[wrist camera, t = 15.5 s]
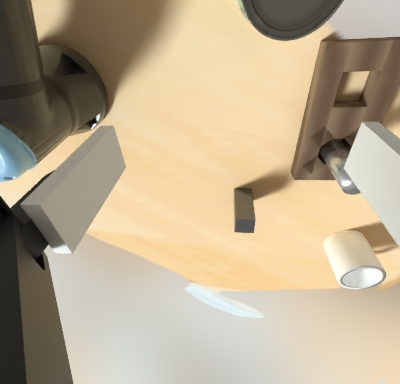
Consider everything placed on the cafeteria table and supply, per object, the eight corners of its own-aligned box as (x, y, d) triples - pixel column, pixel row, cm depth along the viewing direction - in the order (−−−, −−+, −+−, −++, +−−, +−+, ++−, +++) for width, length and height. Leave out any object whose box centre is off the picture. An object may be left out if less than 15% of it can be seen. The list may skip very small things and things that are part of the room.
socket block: (290, 171, 50) (293, 179, 48) (320, 40, 35) (327, 43, 33) (349, 171, 49) (355, 180, 47) (406, 36, 34) (419, 38, 32)
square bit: (233, 201, 57) (234, 232, 50) (234, 188, 55) (235, 219, 47) (250, 201, 57) (253, 232, 49) (251, 188, 54) (255, 219, 47)
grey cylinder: (315, 153, 47) (338, 194, 37) (320, 135, 45) (347, 173, 35) (335, 153, 47) (365, 194, 37) (342, 135, 44) (375, 173, 34)
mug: (381, 246, 63) (404, 282, 54) (346, 262, 68) (362, 298, 60) (349, 224, 59) (368, 260, 50) (315, 243, 64) (328, 279, 56)
